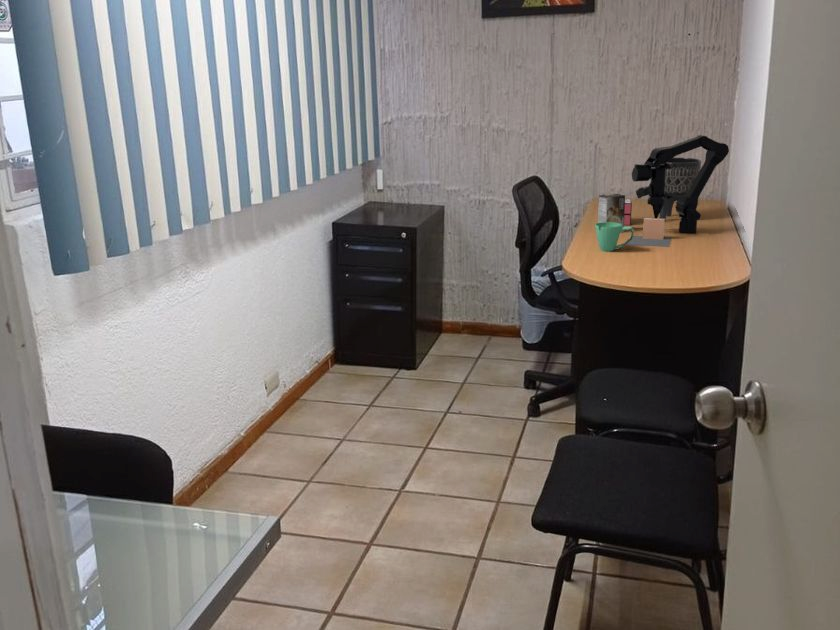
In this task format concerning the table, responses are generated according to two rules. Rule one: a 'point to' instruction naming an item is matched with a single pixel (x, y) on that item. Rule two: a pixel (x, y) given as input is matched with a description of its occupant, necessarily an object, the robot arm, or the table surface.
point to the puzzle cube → (627, 212)
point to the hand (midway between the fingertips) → (655, 218)
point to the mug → (610, 235)
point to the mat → (650, 242)
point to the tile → (653, 228)
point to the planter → (678, 181)
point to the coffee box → (611, 208)
